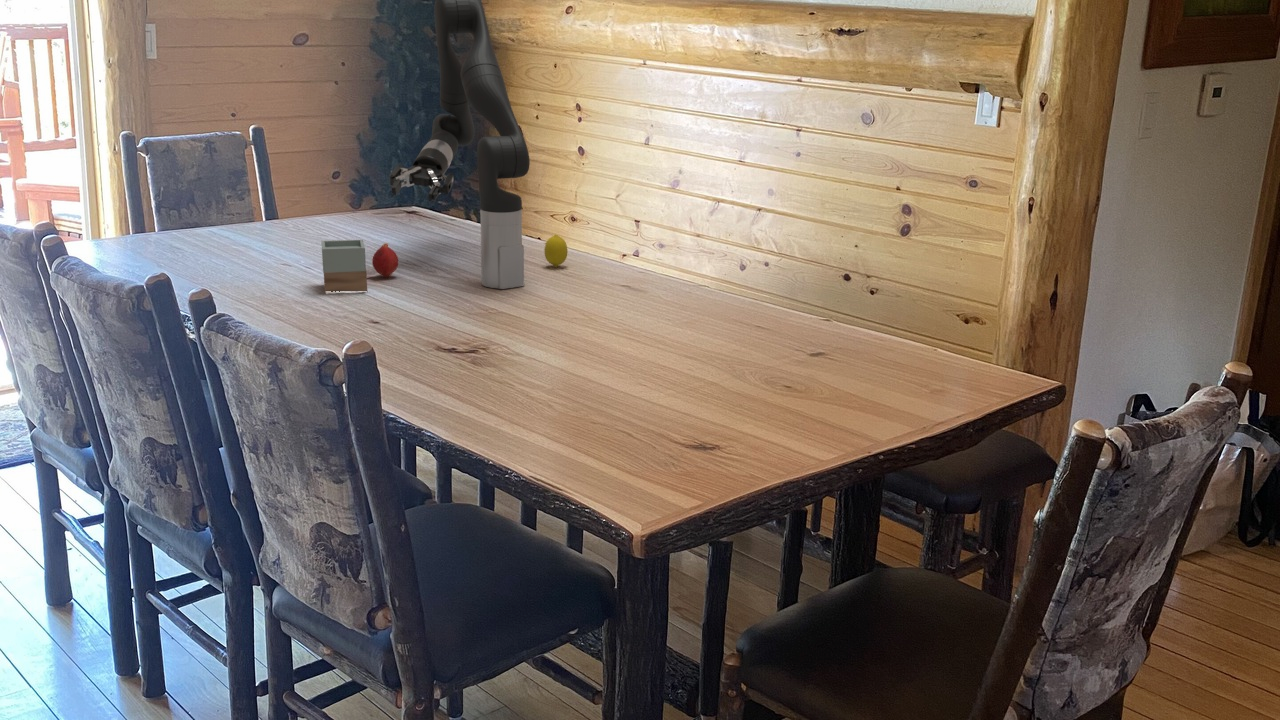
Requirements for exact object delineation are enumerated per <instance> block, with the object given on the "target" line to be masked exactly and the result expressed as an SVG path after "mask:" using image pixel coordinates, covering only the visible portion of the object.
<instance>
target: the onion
mask: <svg viewBox="0 0 1280 720" xmlns="http://www.w3.org/2000/svg"><path fill="white" fill-rule="evenodd" d="M398 266H399V258H398V255H397V253H396V252H395V251H394V249H391V248H390V247H389V244H388V243H387V242H385V243H383V244H382V246H381V247H379V248H378V249H377V250H376V251H375V253H374V254H373V256H372V267H373V269H374V271H376V272H377V273H378V274H379V275H381V276H382V277H384V278H389V277H390V276H391V275H392V274H393V273H394V272H395V271H396V270H397V268H399V267H398Z"/></svg>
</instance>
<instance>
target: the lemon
mask: <svg viewBox="0 0 1280 720" xmlns="http://www.w3.org/2000/svg"><path fill="white" fill-rule="evenodd" d="M567 256H568V246H567V242H566V241H565V239H564V238H562V236H560V235H558V234H554V235H553V236H551V237H550V238H548V239H547V240H546V242H545V246H544V257H545V260H546V261H547V262H548V263H549V264H551V265H552V266H553V267H554V268H557V267H558V268H559V265H561V264H563V263H564V262H566V259H567Z"/></svg>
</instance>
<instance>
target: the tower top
mask: <svg viewBox="0 0 1280 720" xmlns="http://www.w3.org/2000/svg"><path fill="white" fill-rule="evenodd" d="M321 257H322V260H321V261H322V272H323V274H324V273H336V272H363V271H366V272H367V265H366V263H367V262H366V259H367V258H366V247H365V243H364V239H344V240H343V239H341V240H338V239H337V240H335V239H334V240H321Z"/></svg>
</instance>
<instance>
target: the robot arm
mask: <svg viewBox="0 0 1280 720" xmlns="http://www.w3.org/2000/svg"><path fill="white" fill-rule="evenodd" d="M433 10H434V25H435V35H436V36H435V37H436V46H437V56H438V64H439V75H440V77H439V79H440V81H439V82H440V83H439V105H440V108H441V109H442V110H443V111H445V112H447V113H440V114H438V115H436V116H435V118H434V119H433V122H432V127H431V129H432V130H431V136H430V138H429V140H428V141H427V143H426V144H425V145H424V146H423V147H422V149H421V150H420V152H419V154H418V155H417V157H416V158H415V159H414V162H413V163H412V166H410V167H408V168H404V167H403V164H400V163H399V164H397V165H396V166H395V167H394V169H393V170H392V171H391V172H390V174H389V185H390V186H391V194H392V195H393V196H398V194H399V192H400V191H401V190H402V188H404V187H406V188H409V187H412V186H422V187H429V188H430V191H429V192H428V202H433V201H434V200H436V199H437V198H438V196H439V195H441V194H443V195H449V194H450V192H451V189H452V187H453V185H454V173H453V172H449V173H448V174H445V173H446V172H447V170H448V169H449V168H450V165H451V163H452V161H453V158H454V157H455V155H456V153H457V151H458V149H459V146H461V147H466V146H469V145H470V144H472V142H473V141H474V138H475V124H474V120H473V117H472V113H471V109H470V108H471V107H472V108H473V109H474V110H475V111H476V112H477V113H478V114H479V115H480V116H482V117H483V118H484V119H485V120H486V121H487V122H488V123H490V124H491V125H492V126H493V127H494V129H495V130H496V131H497V133H499V135H498V136H497V135H496V136H495V135H493V136H483V137H481V138H480V139H479V140H478V143H477V148H476V160H477V162H476V163H477V174H478V175H477V177H478V195H479V205H480V206H479V209H480V213H479V214H480V266H481V285H482V286H484V287H486V288H492V289H498V290H507V289H512V288H513V289H514V288H518V287H519V288H520V287H523V286H525V256H524V255H525V252H524V251H525V249H524V248H525V246H524V245H523V224H522V223H523V201H522V197H521V196H520V195H518V194H516V193H513V192H510V191H506V190H504V189H502V188H501V187H500V186H499V185H498V179H499V180H500V179H504V180H505V179H516V178H522V177H524V176H525V175H527V174H528V172H529V170H530V153H529V149H528V146H527V142H526V140H525V138H524V135H523V133H522V130H521V127H520V125H519V124H518V121H517V119H516V116H515V114H514V111H513V108H512V104H511V102H510V98H509V96H508V91H507V88H506V84H505V80H504V77H503V73H502V71H501V68H500V65H499V63H498V59H497V57H496V53H495V50H494V47H493V44H492V41H491V36H490V31H489V27H488V21H487V17H486V13H485V9H484V4H483V2H482V0H435V1H434V9H433ZM453 34H455V35H456V34H472V37H473V41H472V44H471V47H470V49H469V51H468V53H467V55H466V56H465V59H464V61H463V63H462V61H461V60H460V58H459V56H458V55H457V53H456V52H455V50H454V48H453V45H452V42H451V35H453ZM470 106H471V107H470ZM441 182H443V184H441Z"/></svg>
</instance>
